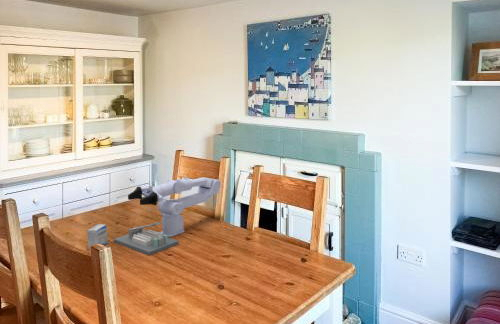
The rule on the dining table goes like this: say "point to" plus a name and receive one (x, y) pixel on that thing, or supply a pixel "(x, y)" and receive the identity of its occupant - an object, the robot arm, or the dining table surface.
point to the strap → (145, 226)
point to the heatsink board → (142, 248)
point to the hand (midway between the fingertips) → (134, 199)
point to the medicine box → (97, 235)
